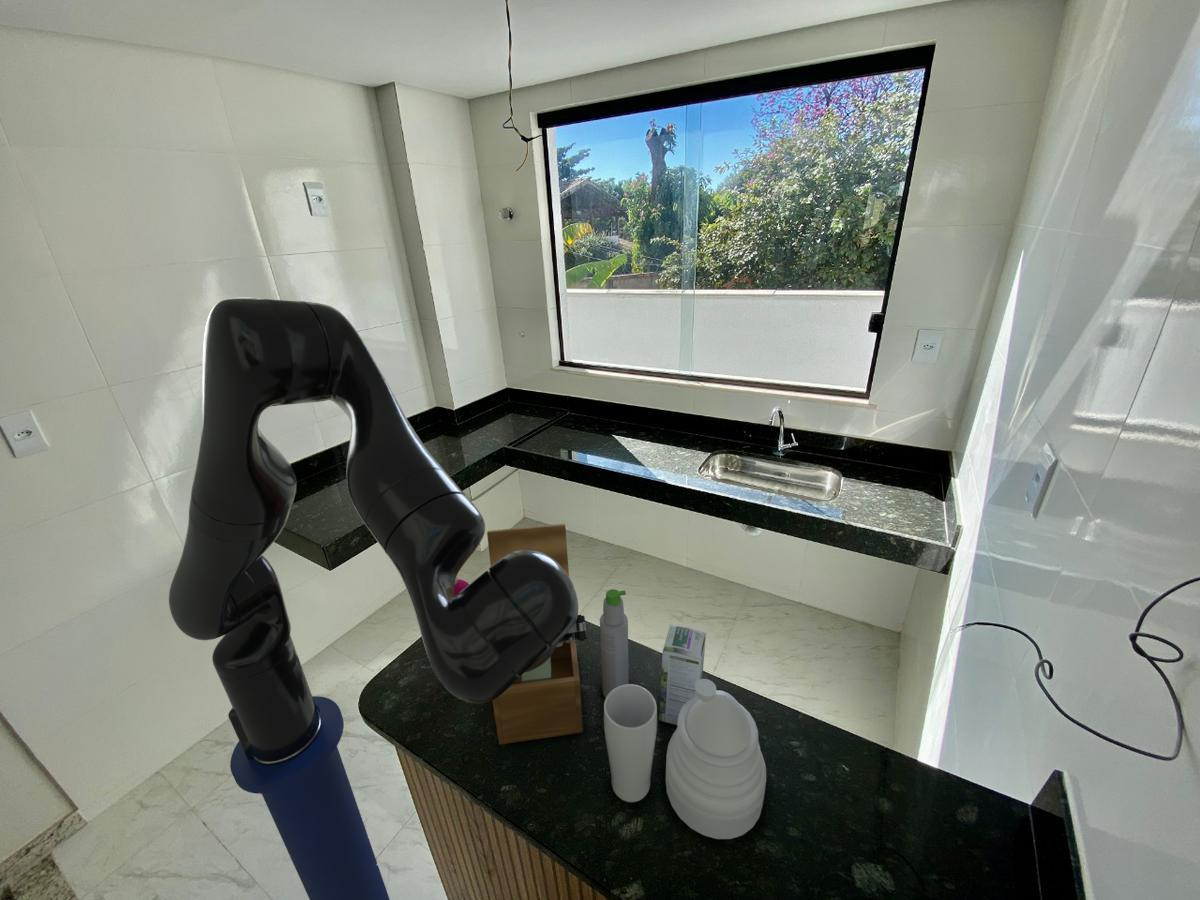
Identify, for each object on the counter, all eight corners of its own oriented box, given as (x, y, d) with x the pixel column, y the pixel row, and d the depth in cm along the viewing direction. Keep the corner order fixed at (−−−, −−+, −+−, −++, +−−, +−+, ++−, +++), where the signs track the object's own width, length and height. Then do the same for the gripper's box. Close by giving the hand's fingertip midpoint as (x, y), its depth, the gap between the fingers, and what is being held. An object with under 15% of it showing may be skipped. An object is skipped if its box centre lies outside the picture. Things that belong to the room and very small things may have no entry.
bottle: (627, 703, 78) (626, 603, 71) (601, 701, 79) (596, 602, 71) (629, 681, 82) (628, 584, 75) (603, 679, 83) (600, 583, 75)
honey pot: (664, 831, 61) (667, 731, 54) (666, 737, 73) (669, 644, 66) (771, 846, 59) (788, 744, 52) (755, 747, 71) (767, 652, 64)
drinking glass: (596, 791, 66) (592, 712, 60) (622, 751, 71) (621, 675, 65) (640, 821, 62) (640, 740, 56) (664, 776, 67) (666, 698, 61)
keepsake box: (582, 732, 74) (579, 680, 70) (499, 744, 72) (490, 691, 68) (574, 658, 87) (571, 610, 83) (503, 667, 86) (496, 619, 81)
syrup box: (665, 691, 80) (667, 622, 74) (701, 700, 78) (706, 630, 73) (658, 721, 75) (660, 649, 69) (697, 731, 73) (702, 658, 68)
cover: (565, 525, 79) (565, 523, 80) (486, 532, 78) (487, 530, 78) (571, 610, 82) (571, 607, 83) (496, 618, 81) (496, 616, 82)
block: (526, 719, 75) (521, 680, 72) (526, 695, 79) (522, 658, 76) (554, 715, 76) (551, 677, 73) (553, 691, 80) (550, 654, 77)
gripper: (587, 585, 51) (581, 601, 66) (448, 601, 49) (474, 613, 64) (595, 662, 48) (587, 660, 63) (448, 682, 46) (475, 675, 61)
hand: (530, 637), depth 64 cm, fingers open, 8 cm apart
